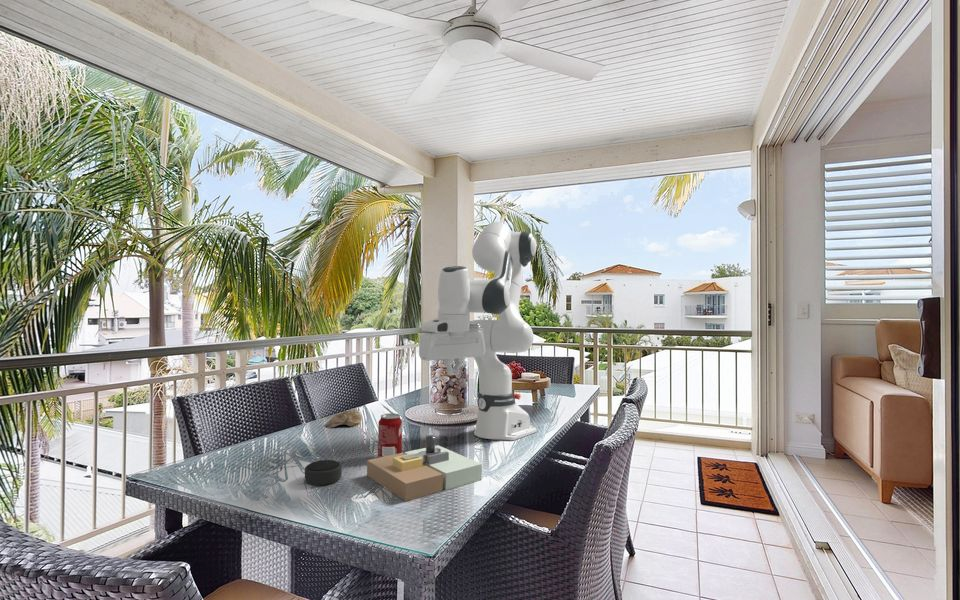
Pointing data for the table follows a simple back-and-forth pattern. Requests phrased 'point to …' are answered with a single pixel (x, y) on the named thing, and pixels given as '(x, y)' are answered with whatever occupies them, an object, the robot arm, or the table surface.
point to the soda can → (389, 435)
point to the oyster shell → (346, 419)
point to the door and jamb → (423, 472)
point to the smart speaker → (323, 472)
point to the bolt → (429, 451)
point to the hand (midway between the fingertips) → (453, 374)
